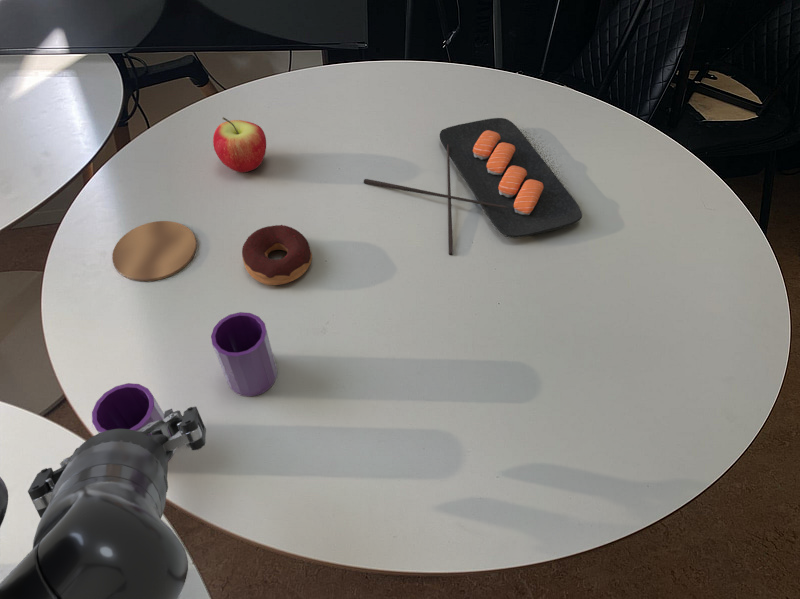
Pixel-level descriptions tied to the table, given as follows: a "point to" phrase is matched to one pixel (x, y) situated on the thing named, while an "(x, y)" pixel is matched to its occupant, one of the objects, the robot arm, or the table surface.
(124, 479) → the robot arm
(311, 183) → the table surface
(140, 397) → the cup
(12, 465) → the table surface
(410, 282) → the table surface
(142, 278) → the coaster
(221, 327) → the cup
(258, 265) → the donut
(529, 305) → the table surface
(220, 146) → the apple
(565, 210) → the sushi plate
